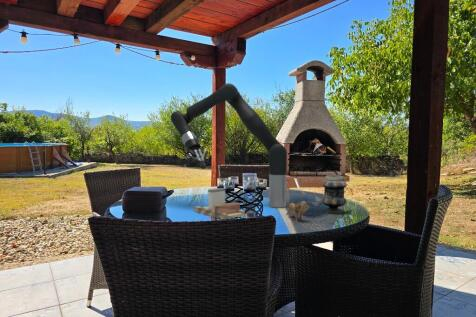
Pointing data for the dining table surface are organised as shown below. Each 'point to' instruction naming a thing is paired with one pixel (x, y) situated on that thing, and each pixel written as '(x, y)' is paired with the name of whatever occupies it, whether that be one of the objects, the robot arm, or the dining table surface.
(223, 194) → the pale grey rectangular block
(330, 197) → the apothecary jar
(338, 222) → the dining table surface
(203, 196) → the dining table surface
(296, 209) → the lion figurine
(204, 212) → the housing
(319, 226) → the dining table surface
